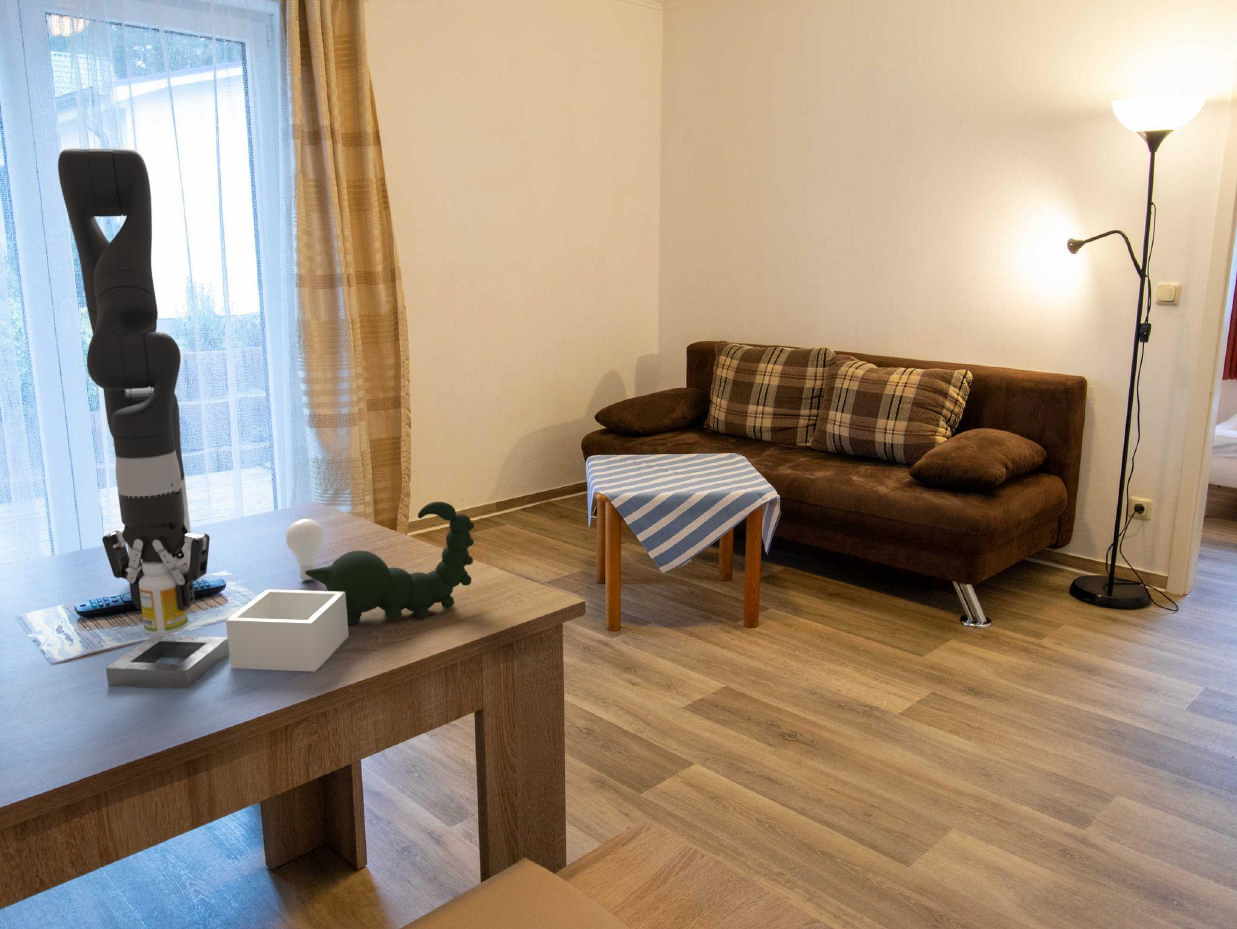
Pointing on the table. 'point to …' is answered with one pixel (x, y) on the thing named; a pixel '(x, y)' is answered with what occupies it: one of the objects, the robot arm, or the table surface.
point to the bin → (287, 630)
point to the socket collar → (146, 673)
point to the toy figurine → (402, 574)
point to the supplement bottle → (160, 600)
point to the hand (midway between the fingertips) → (164, 607)
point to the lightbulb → (305, 543)
